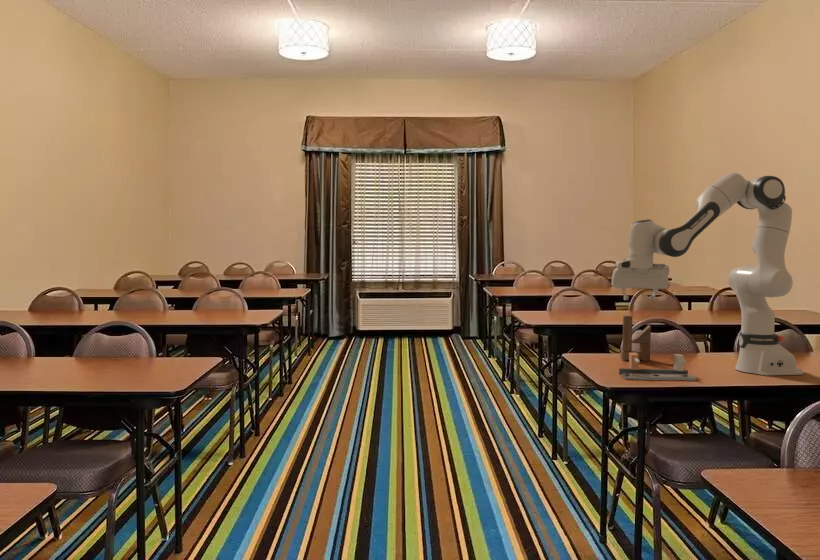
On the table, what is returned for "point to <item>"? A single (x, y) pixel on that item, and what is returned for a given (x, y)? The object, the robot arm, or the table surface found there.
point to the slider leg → (633, 361)
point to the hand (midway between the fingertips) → (639, 300)
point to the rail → (677, 369)
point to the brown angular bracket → (635, 341)
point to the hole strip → (659, 376)
